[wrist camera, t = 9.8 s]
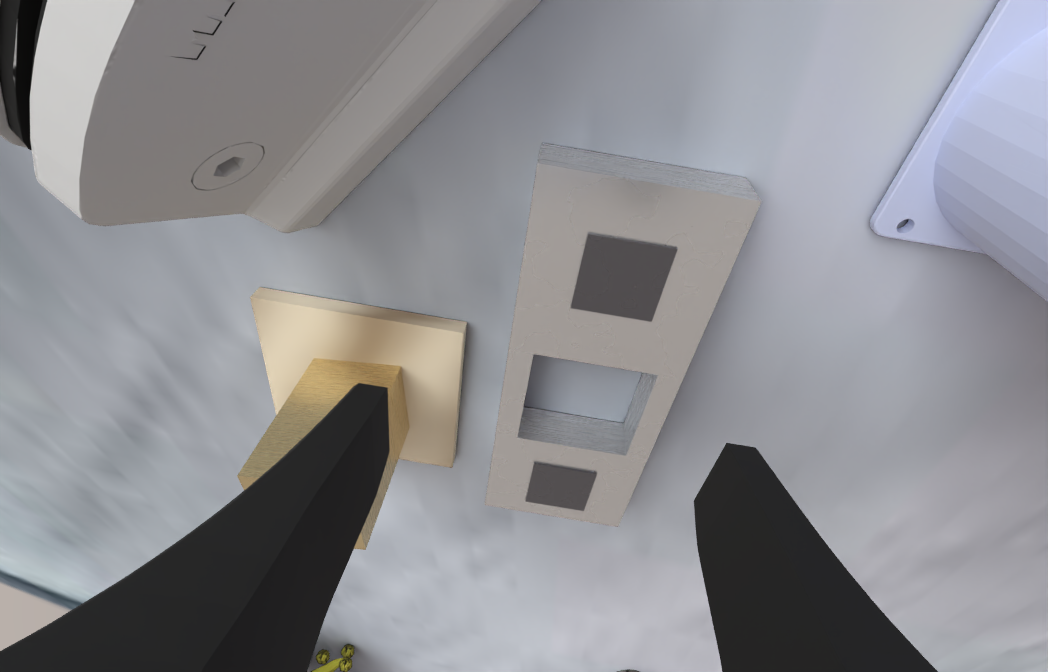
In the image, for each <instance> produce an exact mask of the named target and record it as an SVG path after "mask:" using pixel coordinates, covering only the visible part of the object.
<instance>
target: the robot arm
mask: <svg viewBox="0 0 1048 672" xmlns="http://www.w3.org/2000/svg"><path fill="white" fill-rule="evenodd" d="M905 219H909V220H908V223H907V224H906V225H905V226H903V227H901V228H897V225H898V224H899V223H900V222H901V221H903V220H905ZM870 227H871V228H872V230H873V231H874V232H875V233H876V234H877V235H880V236H882V237H888V238H894V239H900V240H906V241H912V242H918V243H923V244H929V245H935V246H941V247H947V248H953V249H959V250H964V251H970V252H976V253H982V254H988V255H989V256H990V257H991V258H993V259H994V260H995V261H996V262H998V263H999V264H1000V265H1001V266H1003V267H1004V268H1005V269H1006V270H1008V271H1009V272H1010V273H1012V274H1013V275H1014V276H1015V277H1017V278H1018V279H1019V280H1020V281H1022V282H1023V283H1024V284H1025V285H1027V286H1028V287H1029V288H1030V289H1032V290H1033V291H1034V292H1036V293H1037V294H1038V295H1039V296H1041V297H1042V298H1043V299H1044V300H1046V301H1047V302H1048V0H1000V1H999V2H998V4H997V6H996V7H995V9H994V11H993V12H992V14H991V16H990V18H989V19H988V21H987V23H986V24H985V26H984V28H983V29H982V31H981V33H980V34H979V36H978V38H977V40H976V41H975V43H974V45H973V46H972V48H971V50H970V51H969V53H968V55H967V56H966V58H965V60H964V62H963V63H962V65H961V67H960V68H959V70H958V72H957V73H956V75H955V77H954V78H953V80H952V82H951V84H950V85H949V87H948V89H947V90H946V92H945V94H944V95H943V97H942V99H941V100H940V102H939V104H938V106H937V107H936V109H935V111H934V112H933V114H932V116H931V117H930V119H929V121H928V122H927V124H926V126H925V128H924V129H923V131H922V133H921V134H920V136H919V138H918V139H917V141H916V143H915V145H914V146H913V148H912V150H911V151H910V153H909V155H908V156H907V158H906V160H905V161H904V163H903V165H902V167H901V168H900V170H899V172H898V173H897V175H896V177H895V178H894V180H893V182H892V183H891V185H890V187H889V189H888V190H887V192H886V194H885V195H884V197H883V199H882V200H881V202H880V204H879V205H878V207H877V209H876V211H875V212H874V214H873V216H872V218H871V220H870ZM389 452H390V447H389V415H388V388H387V387H381V386H375V385H369V384H363V383H358V384H356V385H355V386H353V387H352V388H351V390H350V391H349V392H348V393H347V394H346V395H345V396H344V397H343V398H342V399H341V400H340V401H339V402H338V403H337V405H336V406H335V407H334V408H333V409H332V410H331V411H330V412H329V413H328V414H327V415H326V416H325V417H324V418H323V419H322V420H321V421H320V422H319V423H318V424H317V425H316V426H315V427H314V428H313V429H312V430H311V431H310V432H309V433H308V434H307V435H306V436H305V437H304V438H302V439H301V440H300V441H299V442H298V443H297V444H296V445H295V446H294V447H293V448H292V449H291V450H290V451H289V452H288V453H287V454H286V455H284V456H283V457H282V458H281V459H280V460H279V461H278V462H277V463H276V464H275V465H273V466H272V467H271V468H270V469H269V470H268V471H266V472H265V473H264V474H263V475H262V476H261V477H259V478H258V479H257V480H256V481H255V482H254V483H252V484H251V485H250V486H249V487H248V488H247V489H245V490H244V491H243V492H242V493H241V494H240V495H238V496H237V497H236V498H235V499H233V500H232V501H231V502H230V503H228V504H227V505H226V506H225V507H223V508H222V509H221V510H220V511H218V512H217V513H216V514H214V515H213V516H212V517H211V518H209V519H208V520H207V521H205V522H204V523H202V524H201V525H200V526H198V527H197V528H196V529H194V530H193V531H192V532H190V533H189V534H188V535H186V536H185V537H184V538H182V539H181V540H179V541H178V542H176V543H175V544H173V545H172V546H171V547H169V548H168V549H166V550H165V551H163V552H162V553H161V554H159V555H158V556H156V557H155V558H153V559H152V560H150V561H149V562H148V563H146V564H145V565H143V566H142V567H140V568H139V569H137V570H136V571H134V572H133V573H131V574H130V575H128V576H126V577H125V578H123V579H122V580H120V581H119V582H117V583H116V584H114V585H112V586H111V587H109V588H107V589H106V590H104V591H102V592H101V593H99V594H98V595H96V596H94V597H93V598H91V599H89V600H88V601H86V602H84V603H83V604H81V605H80V606H78V607H76V608H75V609H73V610H71V611H70V612H68V613H66V614H65V615H63V616H62V617H60V618H58V619H57V620H55V621H53V622H52V623H50V624H48V625H47V626H45V627H43V628H41V629H40V630H38V631H36V632H35V633H33V634H31V635H29V636H27V637H26V638H24V639H22V640H20V641H18V642H16V643H15V644H13V645H11V646H9V647H7V648H5V649H4V650H2V651H0V672H307V670H308V667H309V664H310V661H311V658H312V655H313V651H314V648H315V645H316V642H317V639H318V636H319V633H320V630H321V627H322V624H323V621H324V618H325V616H326V613H327V611H328V608H329V605H330V603H331V600H332V598H333V595H334V593H335V591H336V588H337V586H338V584H339V581H340V579H341V577H342V574H343V572H344V570H345V568H346V565H347V563H348V561H349V558H350V556H351V554H352V551H353V549H354V547H355V544H356V542H357V540H358V538H359V535H360V533H361V531H362V528H363V526H364V524H365V521H366V519H367V517H368V514H369V512H370V509H371V507H372V505H373V502H374V500H375V498H376V495H377V492H378V489H379V485H380V482H381V479H382V476H383V472H384V469H385V465H386V462H387V459H388V455H389ZM694 508H695V524H696V535H697V546H698V552H699V557H700V563H701V568H702V573H703V578H704V583H705V587H706V592H707V597H708V602H709V607H710V611H711V616H712V621H713V626H714V630H715V635H716V640H717V645H718V650H719V654H720V660H721V666H722V671H723V672H938V671H937V670H936V669H935V668H934V667H933V666H932V665H931V664H930V663H929V662H928V661H927V660H926V659H925V658H924V657H923V656H922V655H921V654H920V653H919V651H918V650H917V649H916V648H915V647H914V646H913V645H912V644H911V643H910V642H909V641H908V640H907V639H906V637H905V636H904V635H903V634H902V633H901V632H900V631H899V630H898V629H897V628H896V627H895V626H894V625H893V623H892V622H891V621H890V620H889V619H888V618H887V617H886V616H885V614H884V613H883V612H882V611H881V610H880V609H879V608H878V607H877V605H876V604H875V603H874V602H873V601H872V600H871V598H870V597H869V596H868V595H867V594H866V592H865V591H864V590H863V589H862V588H861V586H860V585H859V584H858V583H857V582H856V580H855V579H854V578H853V577H852V576H851V574H850V573H849V572H848V571H847V570H846V568H845V567H844V566H843V564H842V563H841V562H840V561H839V559H838V558H837V557H836V556H835V554H834V553H833V552H832V551H831V549H830V548H829V547H828V545H827V544H826V543H825V542H824V540H823V539H822V538H821V536H820V535H819V534H818V532H817V531H816V530H815V528H814V527H813V526H812V524H811V523H810V522H809V520H808V519H807V518H806V516H805V515H804V514H803V512H802V511H801V510H800V508H799V507H798V505H797V504H796V503H795V501H794V500H793V499H792V497H791V496H790V494H789V493H788V492H787V490H786V489H785V488H784V486H783V485H782V483H781V482H780V481H779V479H778V478H777V476H776V475H775V474H774V472H773V471H772V469H771V468H770V467H769V465H768V464H767V463H766V461H765V460H764V458H763V457H762V456H761V454H760V453H759V452H758V450H757V449H756V448H755V447H749V446H743V445H737V444H730V443H726V445H725V447H724V449H723V450H722V452H721V454H720V456H719V457H718V459H717V461H716V463H715V465H714V466H713V468H712V470H711V472H710V473H709V475H708V477H707V479H706V480H705V482H704V484H703V486H702V487H701V489H700V491H699V493H698V494H697V496H696V498H695V500H694Z"/></svg>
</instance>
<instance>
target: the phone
mask: <svg viewBox="0 0 1048 672" xmlns="http://www.w3.org/2000/svg"><path fill="white" fill-rule="evenodd" d="M617 672H639V671H636V670H621V671H617Z"/></svg>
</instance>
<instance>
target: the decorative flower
mask: <svg viewBox="0 0 1048 672" xmlns="http://www.w3.org/2000/svg"><path fill="white" fill-rule="evenodd" d="M329 654H330V653H329V652H328V651H327V650H324V649H322V650H321V651H319V652H318V654H317V655H316V660H317V662H318V663H319V664H325V663H327V661H328V660H329V659H330V658H329V657H330V656H329ZM353 654H354V648H353V645H349V644H347V645H346V646H344V648H343V649H342V652H341V655H342V656H343V658H339V659H334V660H333V661H331V662H329V663H327V664H325V665H323V666H321V667H319V668H317V669H315V670H312V671H311V672H333V671H335V670H336V669H337V668H338V667H340V671H342V672H347V671H349V670H350V668H351V667H352V660H351V659H350V658H351V657H352V656H353Z"/></svg>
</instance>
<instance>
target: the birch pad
mask: <svg viewBox="0 0 1048 672" xmlns="http://www.w3.org/2000/svg"><path fill="white" fill-rule="evenodd" d="M250 299H251V303H252V307H253V312H254V316H255V321H256V325H257V330H258V334H259V339H260V343H261V348H262V352H263V357H264V361H265V366H266V370H267V375H268V379H269V384H270V388H271V393H272V397H273V402H274V406H275V410H276V415H277V414H278V412H279V411H280V409H281V408H282V406H283V405H284V403H285V402H286V400H287V398H288V397H289V395H290V394H291V392H292V391H293V389H294V388H295V386H296V385H297V383H298V382H299V380H300V378H301V377H302V375H303V374H304V372H305V371H306V369H307V368H308V366H309V365H310V363H311V361H312V360H313V358H318V359H329V360H340V361H351V362H363V363H374V364H385V365H396V366H401V370H402V377H403V384H404V391H405V398H406V405H407V412H408V419H409V426H410V428H409V431H408V434H407V437H406V439H405V442H404V445H403V448H402V450H401V453H400V456H399V459H402V460H408V461H414V462H420V463H426V464H432V465H438V466H444V467H450V468H452V467H453V463H454V459H455V453H456V441H457V430H458V418H459V407H460V395H461V384H462V372H463V361H464V349H465V338H466V326H467V322H464V321H458V320H452V319H446V318H440V317H434V316H428V315H422V314H416V313H410V312H405V311H399V310H393V309H387V308H381V307H375V306H369V305H363V304H357V303H351V302H345V301H339V300H333V299H327V298H321V297H315V296H309V295H303V294H298V293H292V292H286V291H280V290H274V289H268V288H262V287H259V288H258V290H257V291H256V292H255V293H254V294H253V295H252V296H251V297H250Z"/></svg>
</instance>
